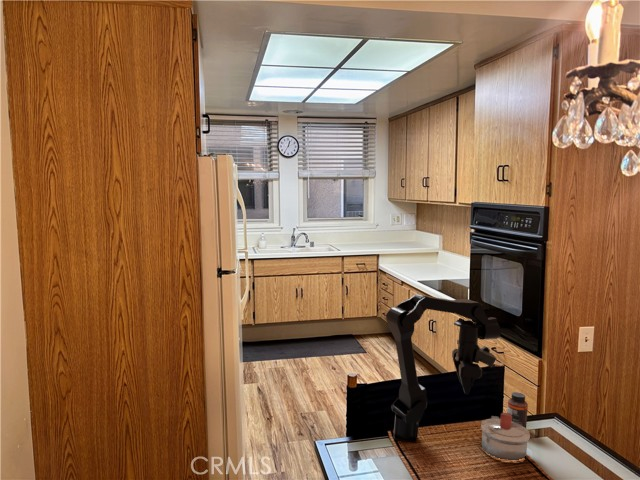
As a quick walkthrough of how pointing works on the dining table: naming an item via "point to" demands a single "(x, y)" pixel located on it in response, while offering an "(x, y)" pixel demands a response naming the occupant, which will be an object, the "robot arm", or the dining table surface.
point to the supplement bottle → (518, 408)
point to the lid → (505, 430)
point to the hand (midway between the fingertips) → (464, 388)
